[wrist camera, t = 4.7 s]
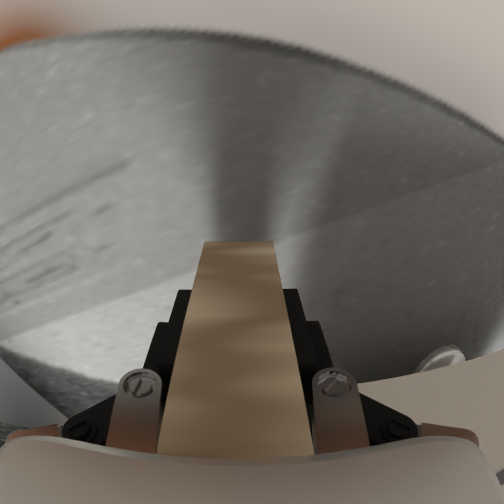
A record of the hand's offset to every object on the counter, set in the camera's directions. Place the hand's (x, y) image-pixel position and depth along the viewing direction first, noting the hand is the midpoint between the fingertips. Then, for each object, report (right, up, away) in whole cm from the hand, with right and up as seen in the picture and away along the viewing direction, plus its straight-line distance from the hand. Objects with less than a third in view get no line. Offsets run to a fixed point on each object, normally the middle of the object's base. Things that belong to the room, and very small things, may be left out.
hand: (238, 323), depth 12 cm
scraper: (0, -5, +6) cm, 8 cm away
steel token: (+17, -7, +11) cm, 21 cm away
